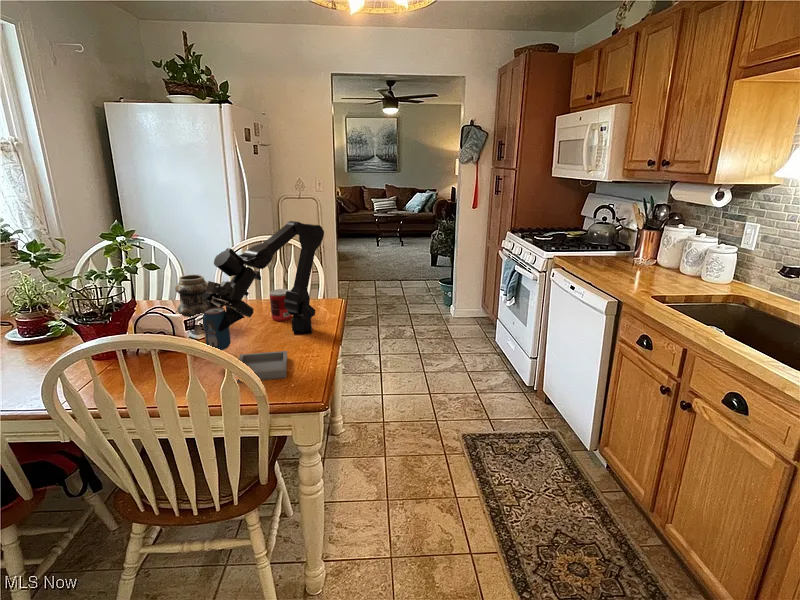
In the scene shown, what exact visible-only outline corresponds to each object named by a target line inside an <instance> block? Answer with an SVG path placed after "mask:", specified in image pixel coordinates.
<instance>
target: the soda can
mask: <svg viewBox="0 0 800 600" xmlns="http://www.w3.org/2000/svg"><path fill="white" fill-rule="evenodd" d="M225 314H226V308H224V307H213V308H209V309H206V310H205V311H204V315H203V324H204V325H203V330H204V337H205V338H204V339H205V345H206V344H207V345H210V346H212V347H215V348H218V349H220V350H221V351H225V350H227V349H228V348H229V347H230V344H231V333H230V326H229V327H227V328H226V329H224V330H223V331H221V332H220V331H219V330H218V328H219V326H220V324H221V322H222V320H223V318H224V316H225Z"/></svg>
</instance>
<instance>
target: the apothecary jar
mask: <svg viewBox="0 0 800 600" xmlns="http://www.w3.org/2000/svg"><path fill="white" fill-rule="evenodd" d="M207 285H208V281H206V280H205V277H204V276H203V275H202V274H186V275H185V274H184V275H181V276H179V278H178V282H177V284H176V285H175V287H174V290H175V292H176V293H178V295H179V302H180V304H179V305H178V306H177V312H178V313H179V314H180V315H181V314H182V315H181V316H183V317H187V318H190V317H191V316H194V315H196V314H200V313H204V311H205V310H206V309H208V307H207V303H206V302H205V300H204V299H203V298H202V295H203V294H204V292H207V291H206V288H207Z"/></svg>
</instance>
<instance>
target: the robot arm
mask: <svg viewBox="0 0 800 600" xmlns="http://www.w3.org/2000/svg"><path fill="white" fill-rule="evenodd" d="M296 236H298V240H299V243H300V244H299V245H300V248H301V249H300V254H299V258H298V263H297V268H296V272H295V278H294V282H293V283H294V284H293V286H292V288H291V289H290V291H286V296H285V300H284V302H285V307H286V309H287V310H288V313H289V314H290V315H292V317H291V330H292V332H293V334H294V335H304V334H305V335H306V334H307V335H308V334H313V329H312V328H313V327H312V318H313V317H314V316H315V314H316V312H317V311H316V309H315V308H314V307H313V306H312V305H310V302H311V301H310V300H311V297H310V295H309V294H310V293H309V291H308V289H309V285H310V279H311V273H312V269H313V263H314V260H315V254H316V251H317V249H318V248H320V246H321V244H322V242H323V239H324V236H325V230H324V229H323V227H322V226H321V225H319V224H310V223H302V222H300V221H297V220H296V221H295V220H289V221H287V222H286V224H285V225H284V226H282V227H281V228H279V230H278V231H275V233H274V234H273V235H271V236H269V238H268V239H266V240H265V241H264V242H262V243H260V244H257V245H254V246H252V247H249V248H248V249H246V250H245V251H244V252H243V253H242V254H237V252H235V250H234V249H232V248H229V247H227V248H226V249H225V250H224V251H221V252H220V253H219V254H217V255H216V256H215V257H214V260H213V265H214V266H215V267H216V268H218V270H220V271H221V272H223V273H224V274H225V275H227V276H228V277H232V278H231V280H230V281H229V280H227V281H221V282H220V283H218V282H214V281H211V280H208V281H207V282H208V285H207V288H206V291H207V292H204V294H203V295H202V298H203V299H204V300H205V302H206V303H207V307H208V309H209V308H213V307H222V308H224V307H225V311H226V314H225V316H224V318H223V320H222V322H221V324H220V326H219V328H218V330H219V331H220V332H221V331H223V330H224V329H226V328H227V327H229V328H230V326H231V325H233V324H234V323H235V324H236V323H237V322H238V321H240V320H242V319H245V317H247V318H252V316H253V314H254V308H253V307H252V306H250V304H248V303H246V302H245V301H243V299H244V297H245V296H246V297H247V296H249V294H250V292H248V290H249V288H250V287H251V285H252V284H253V282H254V281H255V280H257V281H262V276H261V272H260V271H258V270H259V269H260V270H263V269H266V268H267V266H269V264H270V263H272V260H273V258H274V255H275V254H276V253H277V252H278V251H279V250H280V249H281V248H283V247H284V246H285V245H287V243H289V242H290V241H291V240H292V239H293V238H295V237H296ZM253 268H254V269H258V270H254V269H253Z"/></svg>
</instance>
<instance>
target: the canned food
mask: <svg viewBox="0 0 800 600" xmlns="http://www.w3.org/2000/svg"><path fill="white" fill-rule="evenodd" d="M286 291H291V289H288V288H287V289H286V288H279V289H273V290H271V291H270V292H269V301H270V313H271V319H272V320H273V321H275V322H286V321H285V320H287V321H289V320H292V318H293V315H290V314H289V313H288V310H287V309H286V307H285V302H284V300H285V296H286Z"/></svg>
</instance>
